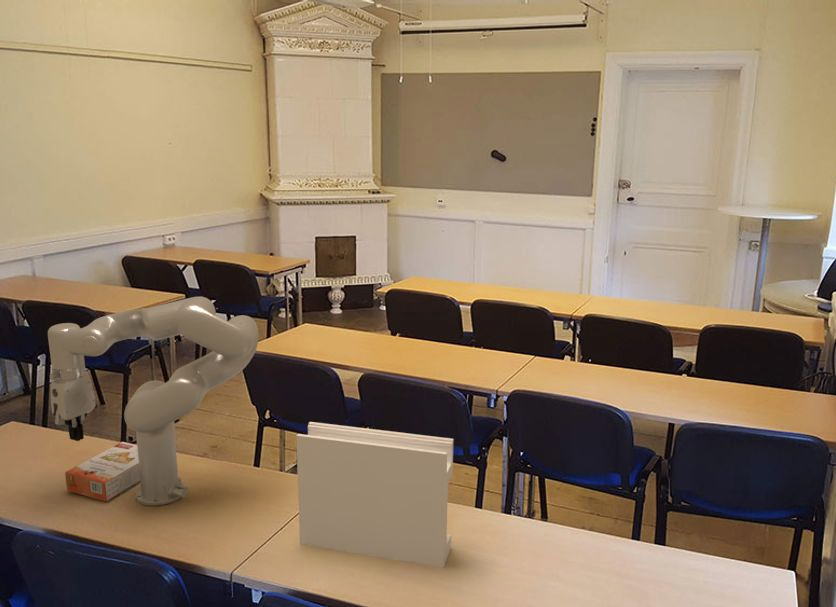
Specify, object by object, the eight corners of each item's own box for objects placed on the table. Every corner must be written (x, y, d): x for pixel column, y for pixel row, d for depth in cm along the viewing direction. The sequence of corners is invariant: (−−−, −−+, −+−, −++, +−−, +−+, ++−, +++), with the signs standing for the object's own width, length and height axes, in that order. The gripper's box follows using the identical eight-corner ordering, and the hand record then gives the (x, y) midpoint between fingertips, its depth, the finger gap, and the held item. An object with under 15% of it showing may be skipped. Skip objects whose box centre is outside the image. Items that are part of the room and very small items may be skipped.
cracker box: (63, 470, 191) (122, 440, 210) (66, 491, 193) (123, 459, 212) (104, 481, 186) (160, 449, 205) (106, 502, 188) (162, 468, 207)
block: (300, 544, 171) (296, 435, 165) (313, 526, 179) (310, 421, 172) (443, 567, 163) (445, 454, 156) (450, 548, 170) (453, 438, 164)
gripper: (54, 383, 174) (63, 453, 179) (103, 365, 187) (110, 430, 192) (32, 379, 177) (41, 448, 182) (82, 361, 190) (89, 425, 195)
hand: (76, 438), depth 187 cm, fingers closed
